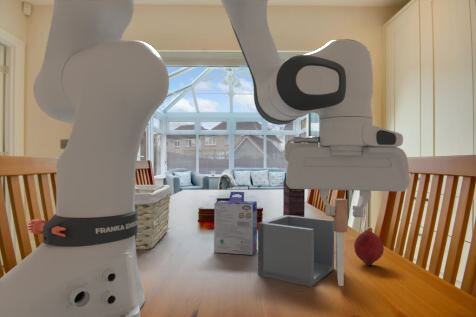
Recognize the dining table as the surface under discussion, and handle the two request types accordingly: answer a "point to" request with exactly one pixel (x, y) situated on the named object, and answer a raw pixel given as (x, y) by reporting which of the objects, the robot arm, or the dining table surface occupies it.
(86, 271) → the robot arm
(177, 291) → the dining table surface
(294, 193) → the supplement box
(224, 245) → the ink cartridge box
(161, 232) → the storage basket
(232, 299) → the dining table surface
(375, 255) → the onion
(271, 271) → the grey open box
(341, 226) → the flap
